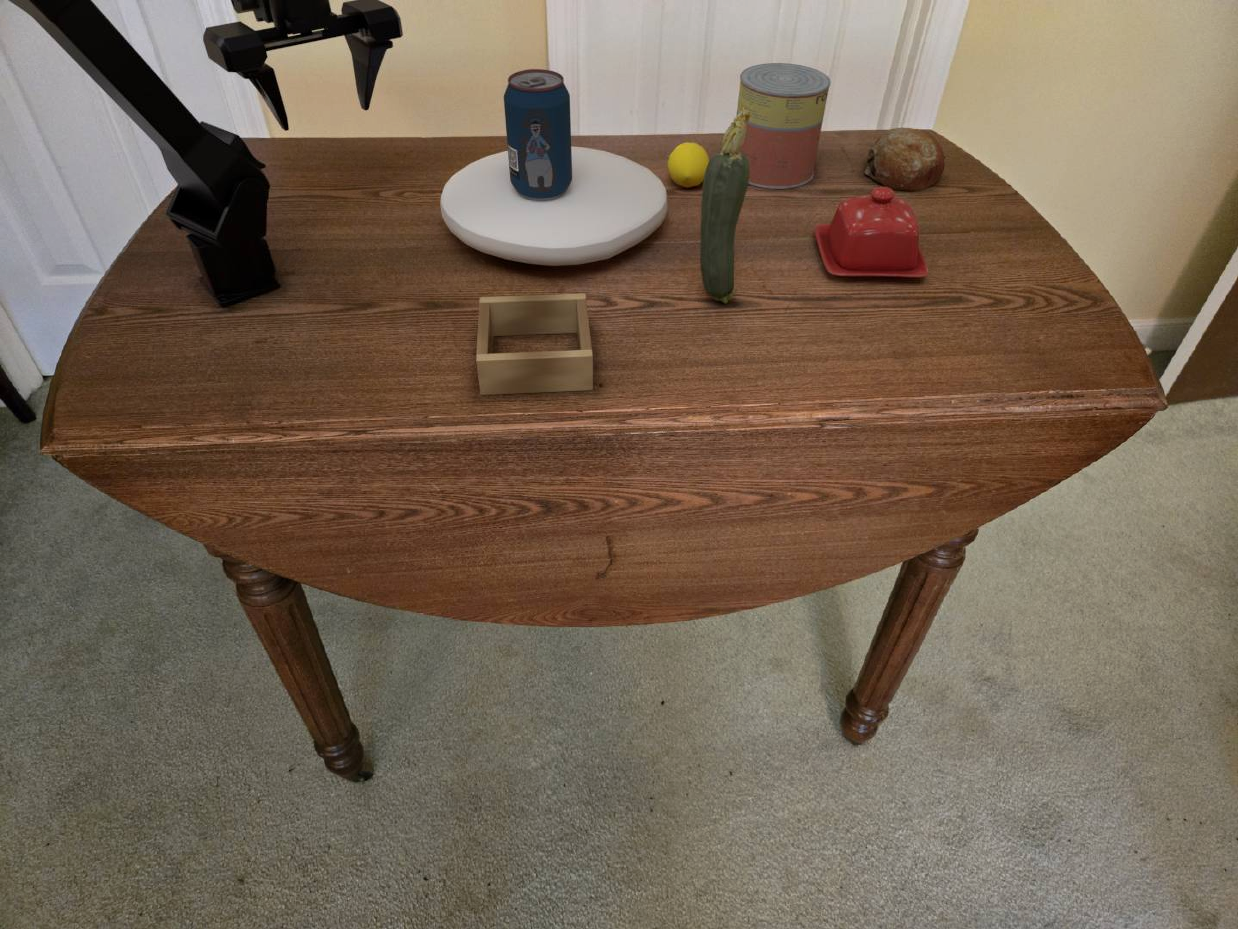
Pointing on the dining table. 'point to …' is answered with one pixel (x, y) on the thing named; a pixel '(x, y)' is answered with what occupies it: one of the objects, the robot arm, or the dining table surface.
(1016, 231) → the dining table surface
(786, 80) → the canned food
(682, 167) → the lemon
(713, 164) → the vegetable
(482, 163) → the plate
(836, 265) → the butter dish
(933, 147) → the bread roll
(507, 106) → the soda can
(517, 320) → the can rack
